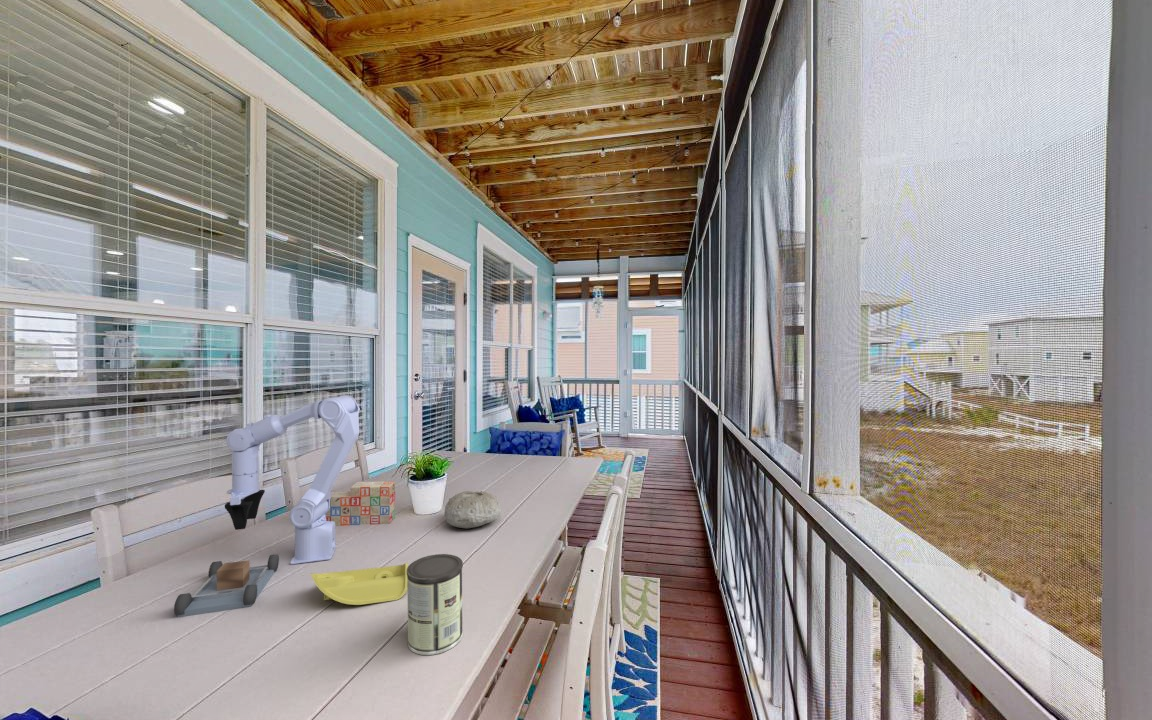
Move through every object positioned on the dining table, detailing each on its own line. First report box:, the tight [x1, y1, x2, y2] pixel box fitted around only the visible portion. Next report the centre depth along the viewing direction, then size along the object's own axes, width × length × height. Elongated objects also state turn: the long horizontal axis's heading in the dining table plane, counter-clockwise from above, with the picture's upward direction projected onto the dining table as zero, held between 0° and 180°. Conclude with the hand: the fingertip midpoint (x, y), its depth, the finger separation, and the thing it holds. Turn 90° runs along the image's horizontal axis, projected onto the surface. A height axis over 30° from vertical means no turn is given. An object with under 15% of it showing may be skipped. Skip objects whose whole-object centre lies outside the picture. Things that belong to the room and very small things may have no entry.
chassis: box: [173, 553, 280, 618], centre depth 104 cm, size 13×20×4 cm
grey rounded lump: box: [443, 490, 502, 529], centre depth 145 cm, size 18×18×10 cm
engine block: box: [217, 559, 251, 591], centre depth 104 cm, size 5×4×4 cm
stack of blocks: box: [325, 480, 396, 527], centre depth 147 cm, size 21×6×12 cm, turn 96°
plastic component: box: [310, 562, 409, 606], centre depth 102 cm, size 20×7×10 cm
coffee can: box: [406, 553, 464, 656], centre depth 86 cm, size 10×10×14 cm
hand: (245, 523), depth 120 cm, fingers open, 7 cm apart
